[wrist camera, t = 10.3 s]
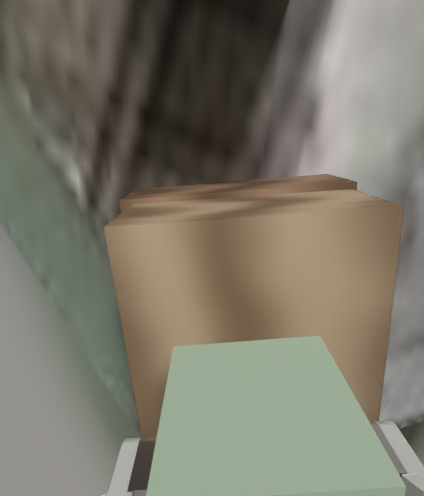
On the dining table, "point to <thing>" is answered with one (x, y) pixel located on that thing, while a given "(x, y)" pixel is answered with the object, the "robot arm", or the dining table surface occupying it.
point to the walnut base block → (237, 189)
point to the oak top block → (256, 282)
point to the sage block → (265, 425)
